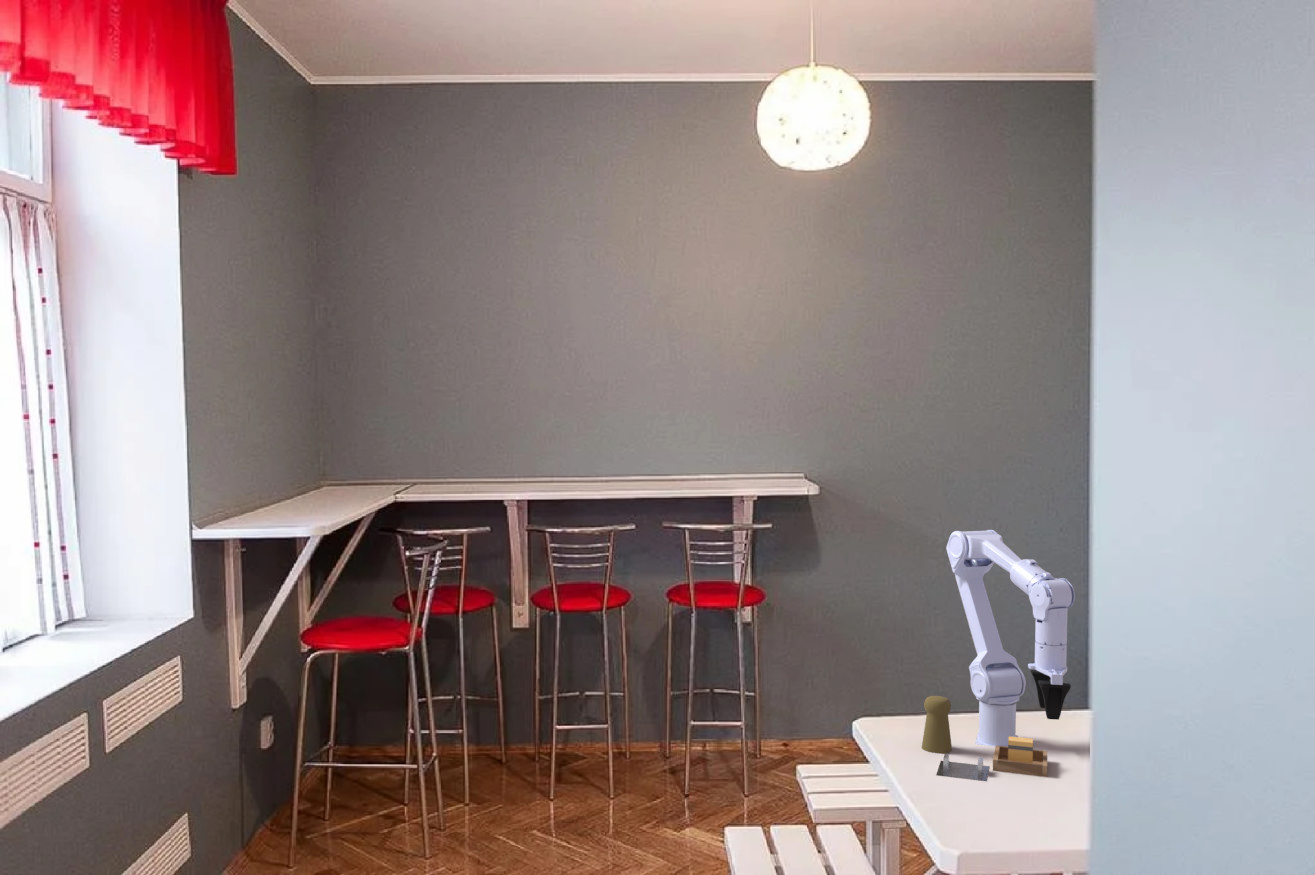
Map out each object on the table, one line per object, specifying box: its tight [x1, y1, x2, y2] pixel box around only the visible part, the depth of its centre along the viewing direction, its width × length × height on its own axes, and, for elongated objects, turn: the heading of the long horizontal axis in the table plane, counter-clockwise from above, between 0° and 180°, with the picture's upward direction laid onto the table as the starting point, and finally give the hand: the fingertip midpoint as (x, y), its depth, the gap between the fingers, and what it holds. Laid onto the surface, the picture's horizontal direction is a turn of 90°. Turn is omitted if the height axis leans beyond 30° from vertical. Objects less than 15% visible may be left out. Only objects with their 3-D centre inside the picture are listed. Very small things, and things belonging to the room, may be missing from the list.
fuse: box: [1008, 736, 1034, 763], centre depth 210 cm, size 3×4×5 cm, turn 72°
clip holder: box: [935, 753, 990, 782], centre depth 207 cm, size 9×9×3 cm
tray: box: [992, 745, 1048, 778], centre depth 210 cm, size 10×10×3 cm
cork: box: [921, 695, 953, 754], centre depth 220 cm, size 6×6×11 cm
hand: (1049, 713), depth 211 cm, fingers open, 7 cm apart
